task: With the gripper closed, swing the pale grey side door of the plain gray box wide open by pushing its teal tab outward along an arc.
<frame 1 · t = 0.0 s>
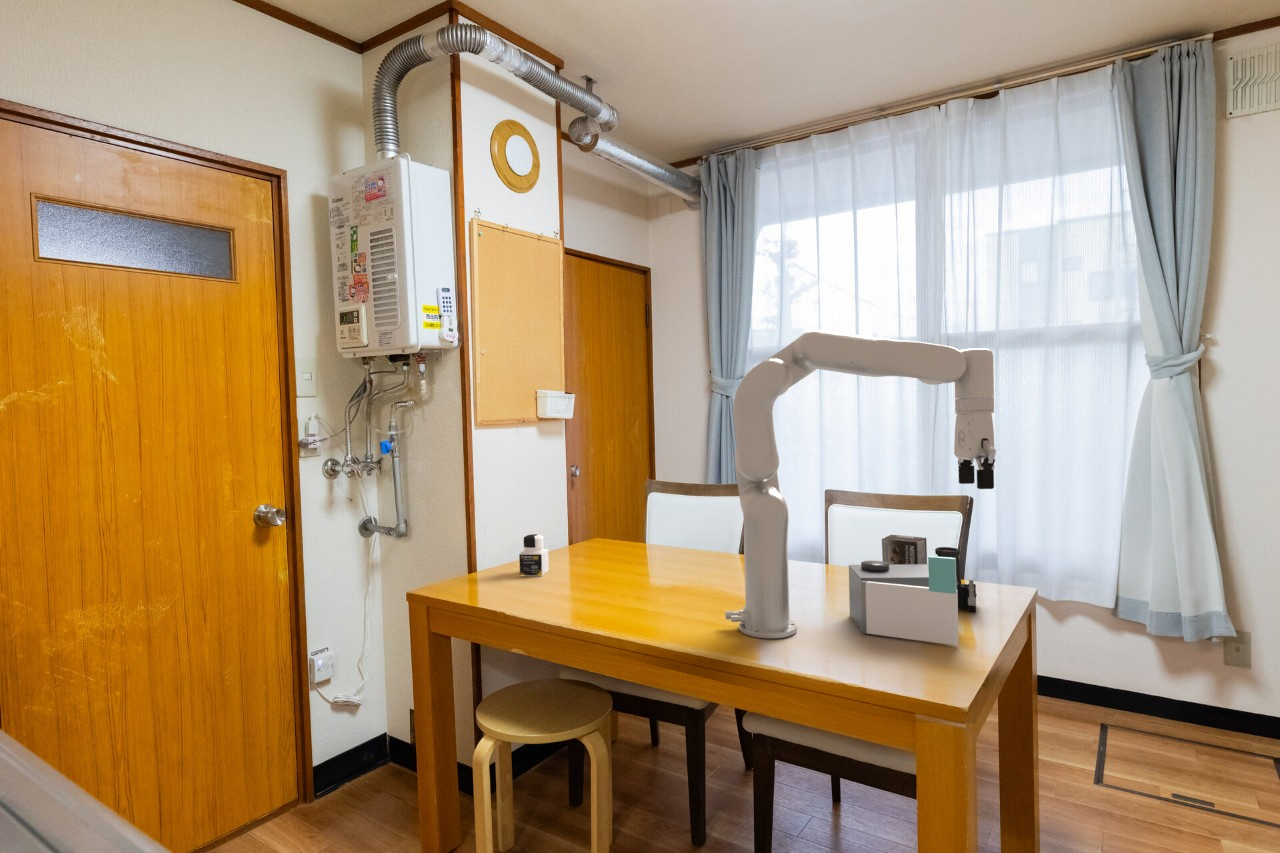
hand: (975, 486, 144), 31 cm above the table, tool pointing down, fingers open, 9 cm apart
scope: (953, 607, 162), on the table
coffee box: (905, 602, 166), on the table
side door: (907, 596, 139), point 9 cm above the table, hinge at 25.0°
medicine bottle: (534, 574, 207), on the table
plain gray box: (901, 623, 150), on the table
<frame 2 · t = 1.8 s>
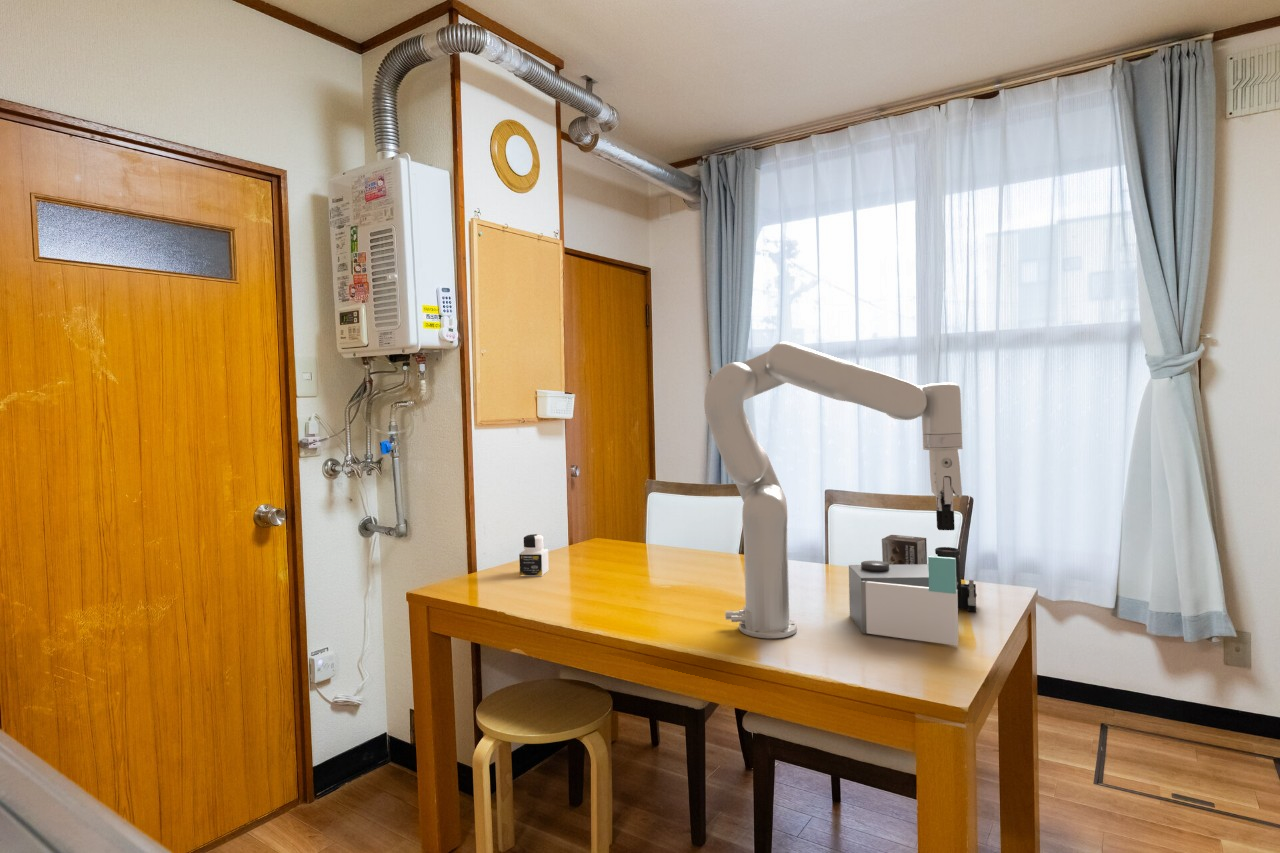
hand: (945, 529, 140), 23 cm above the table, tool pointing down, fingers closed
nothing on the table moved.
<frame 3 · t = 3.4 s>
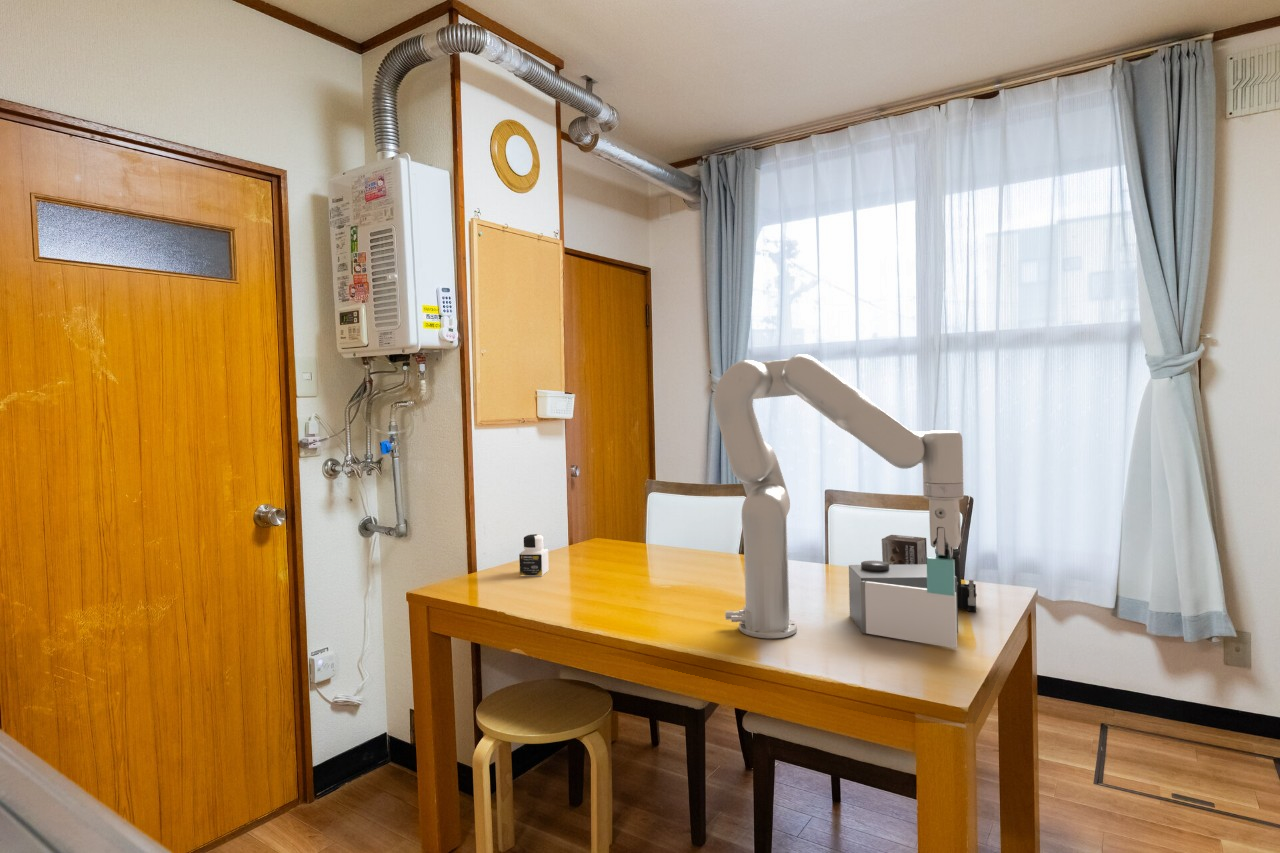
hand: (945, 579, 137), 13 cm above the table, tool pointing down, fingers closed
side door: (906, 597, 139), point 9 cm above the table, hinge at 30.6°, touching gripper
everything else where it was.
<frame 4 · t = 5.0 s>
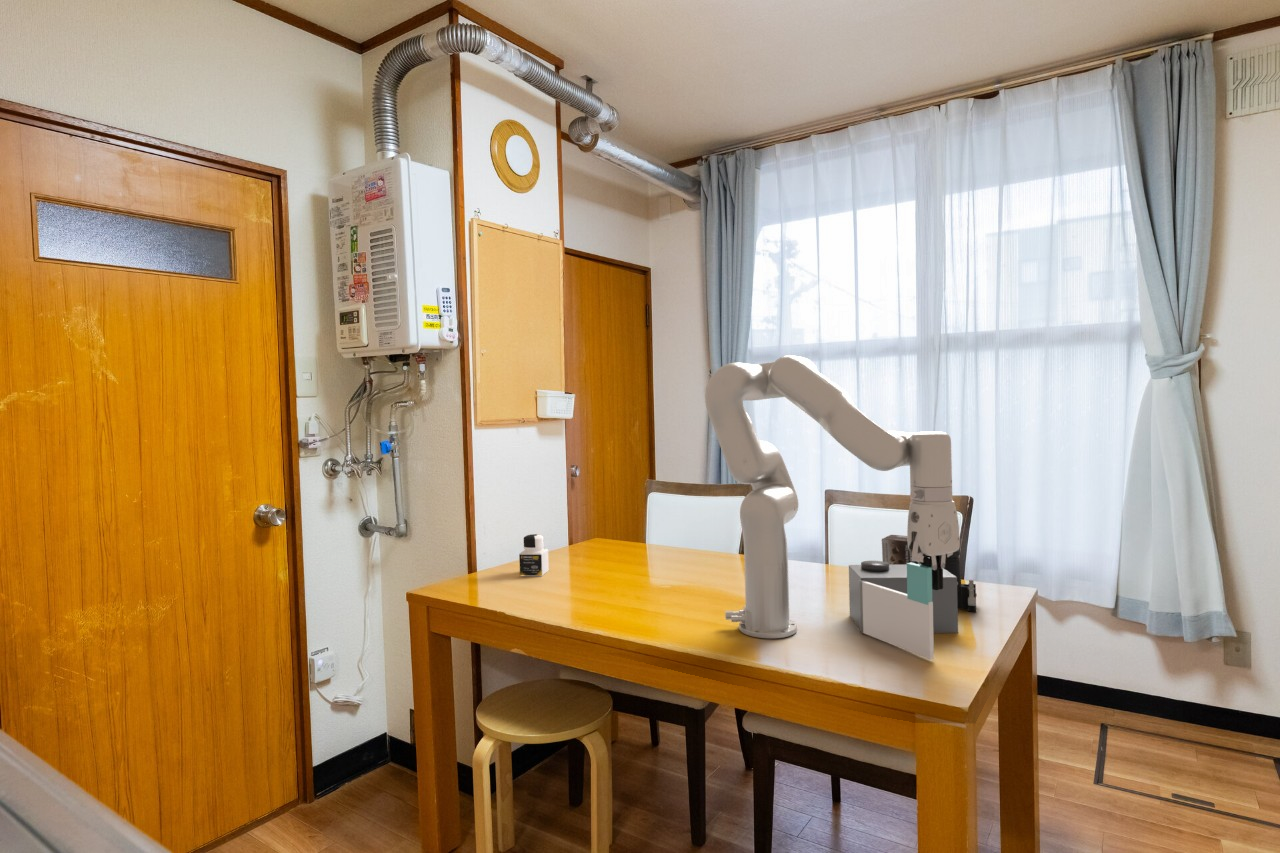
hand: (933, 588, 131), 13 cm above the table, tool pointing down, fingers closed
side door: (893, 601, 136), point 9 cm above the table, hinge at 60.6°, touching gripper
everything else where it was.
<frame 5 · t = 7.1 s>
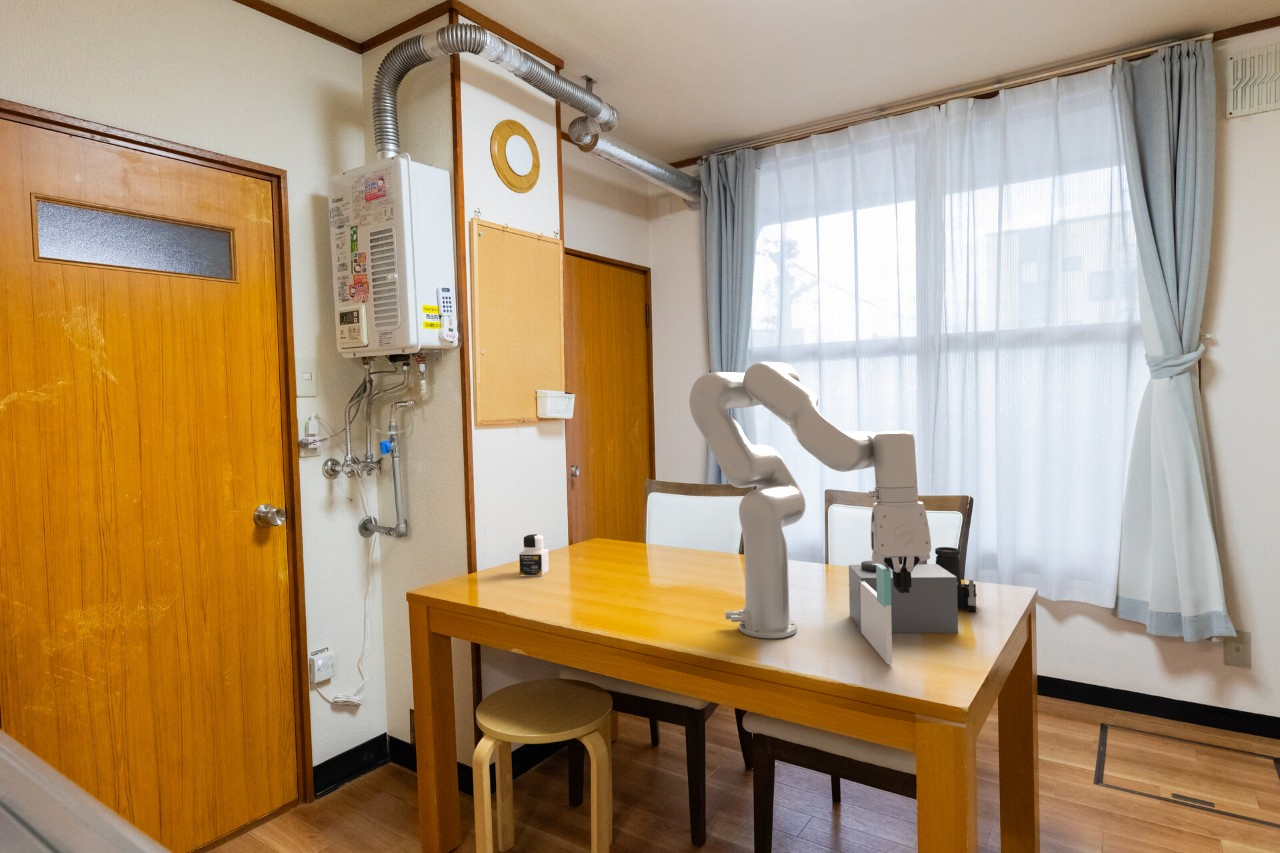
hand: (902, 591, 128), 14 cm above the table, tool pointing down, fingers closed
side door: (873, 603, 135), point 9 cm above the table, hinge at 88.2°, touching plain gray box, gripper
everything else where it was.
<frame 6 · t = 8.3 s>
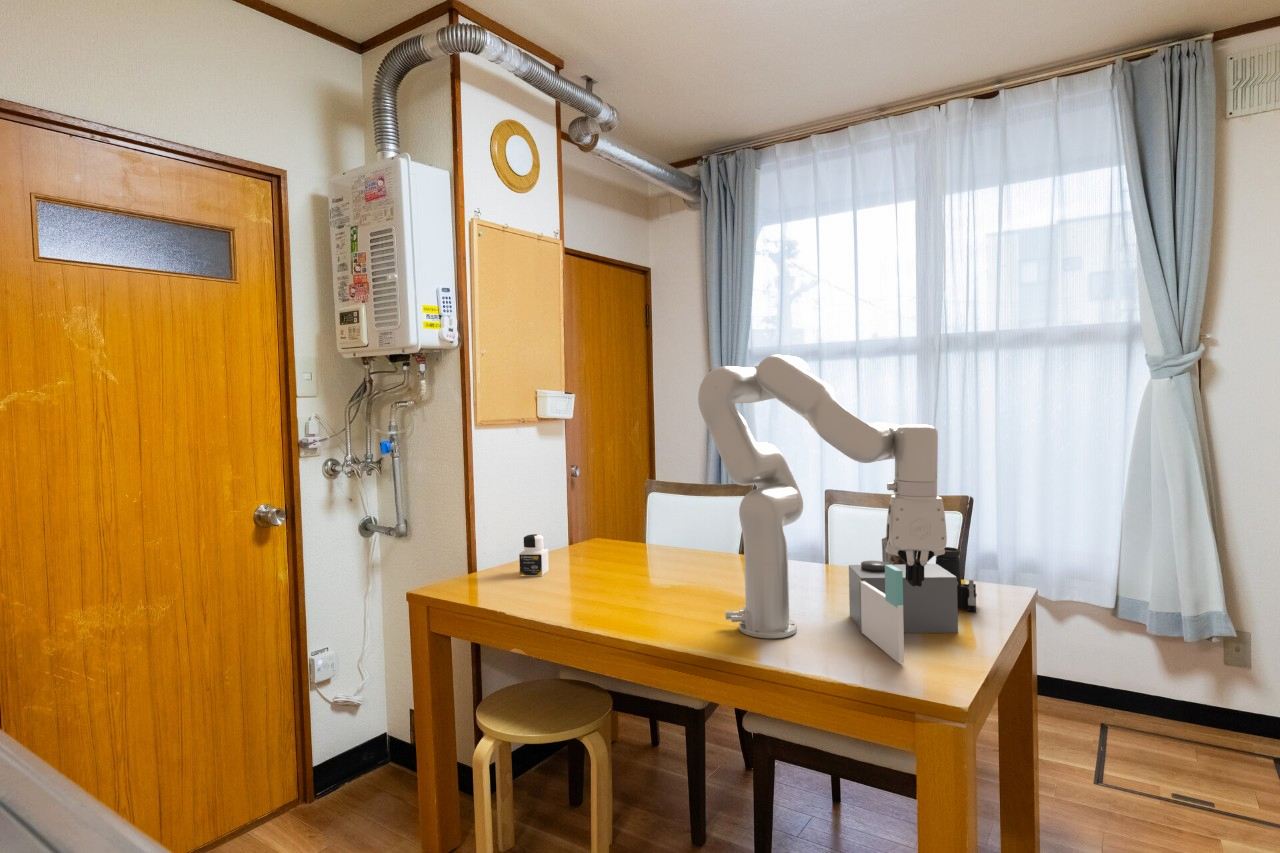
hand: (914, 584, 128), 15 cm above the table, tool pointing down, fingers closed
side door: (879, 602, 135), point 9 cm above the table, hinge at 81.1°, touching plain gray box
everything else where it was.
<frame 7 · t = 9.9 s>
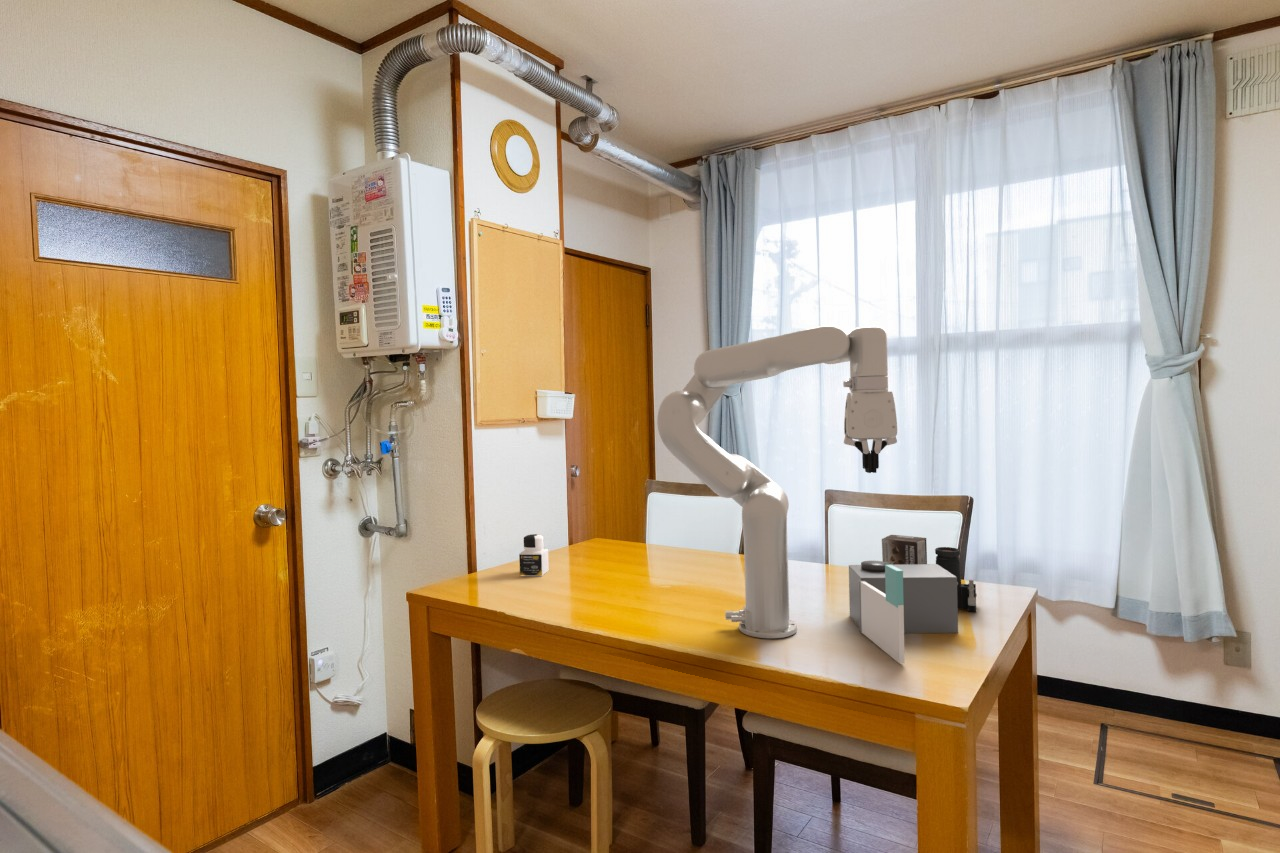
hand: (870, 472, 142), 35 cm above the table, tool pointing down, fingers closed
nothing on the table moved.
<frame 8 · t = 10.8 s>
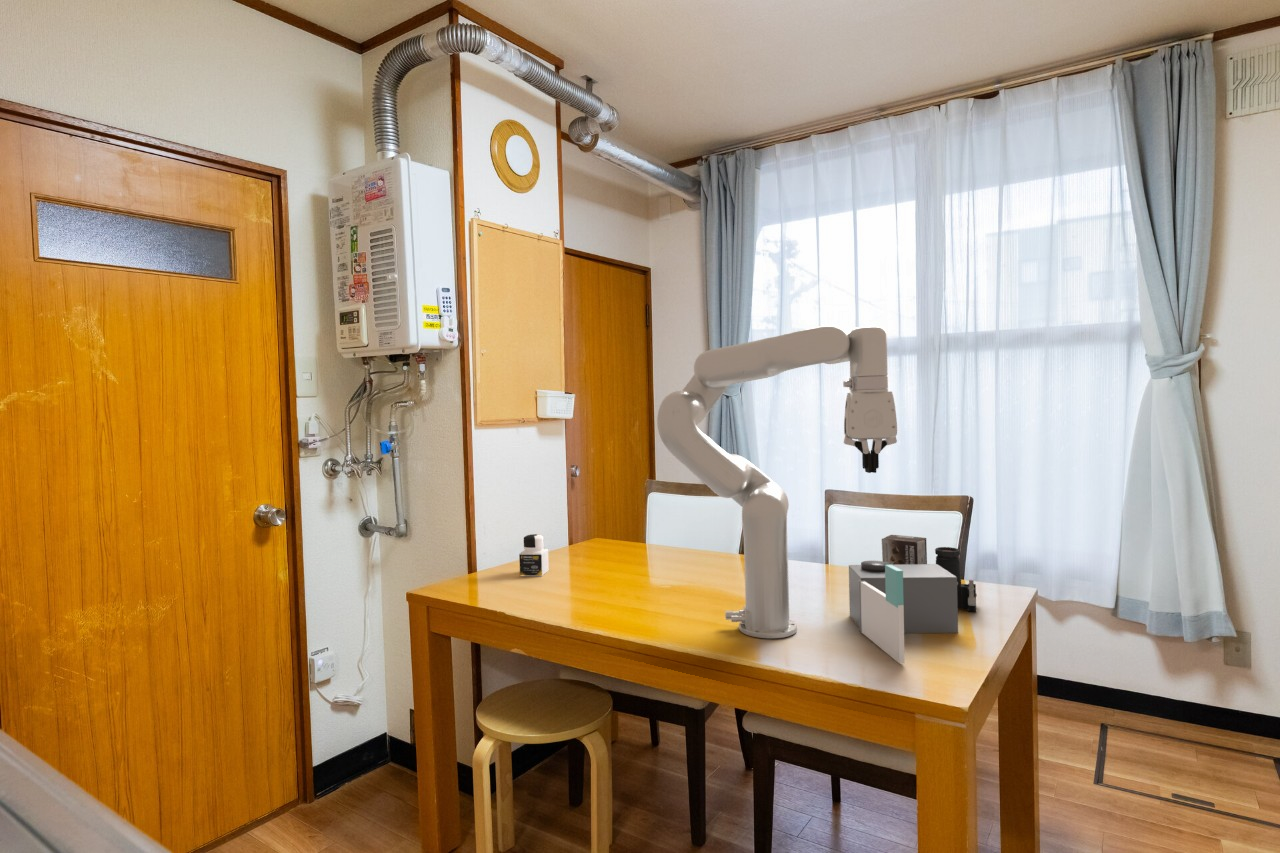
hand: (870, 472, 142), 35 cm above the table, tool pointing down, fingers closed
nothing on the table moved.
at the end: side door at +81° (first picture: +25°); scope moved 0.2 cm from its start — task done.
